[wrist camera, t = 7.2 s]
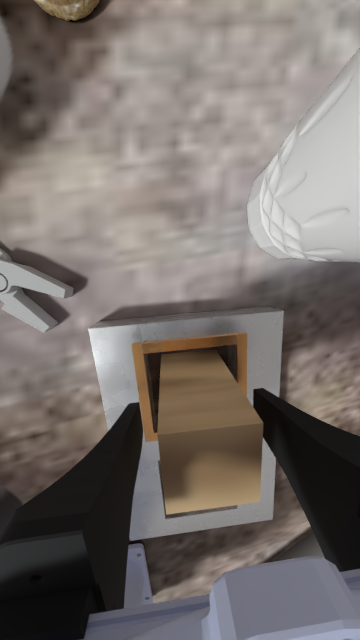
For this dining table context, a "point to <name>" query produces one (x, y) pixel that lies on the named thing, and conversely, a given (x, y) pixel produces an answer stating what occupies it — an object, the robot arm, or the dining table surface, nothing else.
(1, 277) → the pliers
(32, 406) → the dining table surface
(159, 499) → the socket board
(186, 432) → the peg
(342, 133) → the white cup
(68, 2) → the sprinkles bottle
